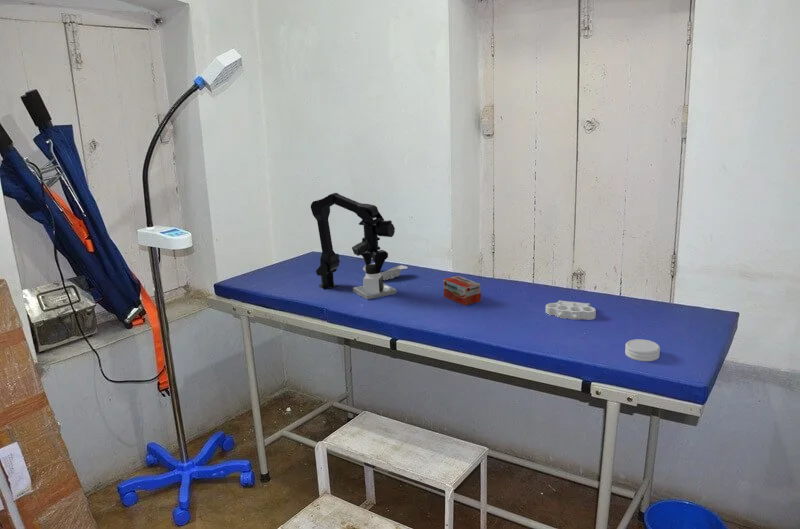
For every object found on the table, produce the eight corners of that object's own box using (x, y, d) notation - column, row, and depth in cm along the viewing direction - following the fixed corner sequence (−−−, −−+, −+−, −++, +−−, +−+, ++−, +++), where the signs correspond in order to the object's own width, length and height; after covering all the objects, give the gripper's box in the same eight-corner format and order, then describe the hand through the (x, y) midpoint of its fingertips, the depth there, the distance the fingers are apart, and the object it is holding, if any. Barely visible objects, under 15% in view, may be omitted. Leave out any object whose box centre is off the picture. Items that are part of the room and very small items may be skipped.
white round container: (652, 365, 177) (653, 354, 176) (619, 356, 183) (620, 346, 183) (664, 353, 184) (665, 343, 183) (632, 346, 191) (632, 336, 190)
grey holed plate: (598, 310, 223) (592, 324, 211) (550, 305, 231) (542, 318, 219) (599, 302, 222) (593, 315, 210) (551, 297, 230) (542, 309, 218)
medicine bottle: (379, 294, 252) (378, 267, 249) (363, 294, 254) (362, 267, 250) (383, 289, 259) (382, 262, 255) (368, 288, 260) (366, 262, 257)
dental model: (350, 279, 278) (349, 269, 277) (372, 270, 292) (371, 260, 290) (389, 285, 265) (389, 275, 264) (411, 275, 279) (410, 265, 277)
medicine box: (481, 302, 238) (481, 283, 236) (465, 306, 234) (465, 287, 232) (458, 293, 250) (457, 275, 248) (442, 297, 246) (442, 279, 244)
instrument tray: (353, 291, 259) (352, 287, 258) (381, 285, 265) (381, 281, 265) (367, 299, 247) (366, 295, 247) (396, 293, 254) (396, 289, 253)
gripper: (344, 234, 254) (346, 269, 258) (363, 242, 238) (365, 279, 242) (367, 230, 259) (369, 265, 263) (387, 238, 243) (389, 274, 247)
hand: (373, 270), depth 254 cm, fingers open, 9 cm apart
